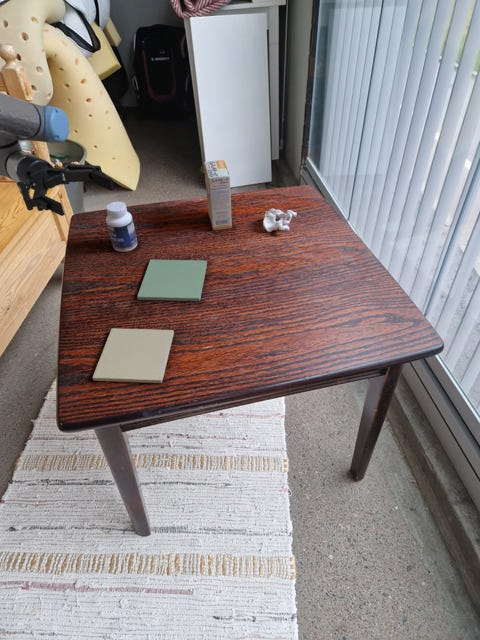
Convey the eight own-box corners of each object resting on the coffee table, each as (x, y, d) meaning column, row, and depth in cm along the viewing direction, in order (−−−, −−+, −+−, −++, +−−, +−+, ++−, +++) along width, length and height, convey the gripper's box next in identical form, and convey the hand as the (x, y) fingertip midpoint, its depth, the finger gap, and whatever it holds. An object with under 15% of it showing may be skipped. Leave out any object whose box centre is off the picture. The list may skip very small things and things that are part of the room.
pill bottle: (109, 251, 92) (97, 211, 85) (119, 237, 96) (109, 198, 89) (131, 254, 91) (122, 213, 84) (141, 240, 95) (133, 201, 88)
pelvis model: (289, 223, 92) (260, 216, 93) (286, 239, 95) (258, 232, 96) (298, 205, 97) (271, 199, 99) (295, 221, 100) (269, 214, 102)
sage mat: (137, 299, 80) (136, 296, 80) (150, 262, 89) (150, 259, 88) (200, 301, 80) (199, 298, 79) (207, 263, 88) (207, 260, 88)
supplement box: (207, 213, 103) (202, 161, 94) (226, 211, 104) (224, 159, 94) (212, 231, 97) (207, 177, 88) (232, 228, 98) (230, 175, 89)
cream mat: (93, 380, 66) (92, 377, 66) (112, 331, 74) (111, 328, 74) (162, 383, 66) (161, 380, 65) (174, 333, 74) (173, 329, 73)
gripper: (78, 168, 111) (133, 190, 101) (-10, 207, 97) (44, 237, 87) (70, 139, 105) (127, 159, 96) (-25, 176, 91) (30, 204, 82)
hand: (87, 196), depth 92 cm, fingers open, 13 cm apart
